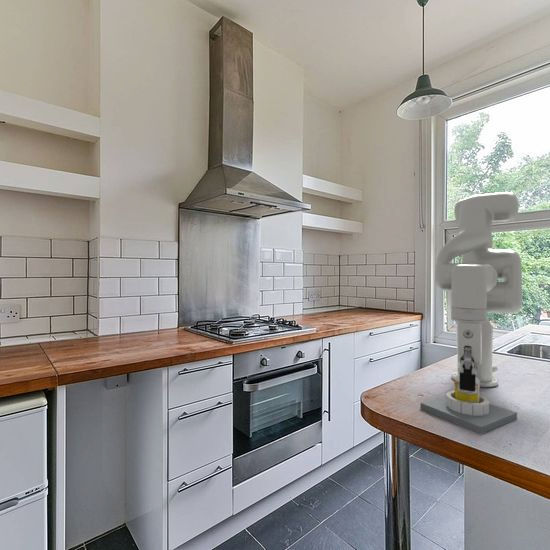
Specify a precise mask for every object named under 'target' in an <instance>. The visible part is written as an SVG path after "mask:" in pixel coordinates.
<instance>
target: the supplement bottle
mask: <svg viewBox="0 0 550 550" xmlns="http://www.w3.org/2000/svg"><path fill="white" fill-rule="evenodd" d="M463 370H464V369H463ZM460 372H461V366H459V367H458V373H459V374H458V375H456V376H455V380H454V391H455V399H457V400H460V401H463V402H468V403H479V395H481V394H480V388H481V387H480V381H479V379H478V378H477V377H476V379H475V391H474V392H473V391H467V390H461V389H460ZM474 374H476V375H477V370H476V369H475V368H474Z"/></svg>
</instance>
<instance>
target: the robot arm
mask: <svg viewBox="0 0 550 550" xmlns="http://www.w3.org/2000/svg"><path fill="white" fill-rule="evenodd" d="M518 199H519V198H518V197H517V195H516V194H515V193H514V192H510V191H505V192H504V191H502V192H493V193H483V194H475V195H471V196H469V197H466V198H463V199H460V200H458V201H457V202H456V203H455V205H454V219H455V223H456V226H457V234H455V235H454V236H453V237H451V238H450V239H449V240H448V241H447V242H446V243H445V244H444V245H443V246H442V247H441V248H440V250H439V252H438V255H437V258H436V265H435V270H434V282H435V285H436V287H437V288H438V289H439V290H441V291H444V292H445V291H446V292H450V297H451V299H450V302H451V303H450V320H451V321H453V322H456V325H455V326H456V328H455V329H456V333H455V334H456V336H455V337H456V353H457V362H456V363H457V368H456V369H457V371H454V372H452V373H451V378H452V379H453V380H454V381H455V376H456V375H458V374H459V373H458V367H459V366H461V372H460V389H461V390H467V391H473V392H474V391H475V379H476V377H477V378H478V379H479V381H480V388H493V387H496V386H498V385H499V380H498V379H497V378H496V377H494V376H493V373H495V372H497V371H498V367H497V366H496V365H493V346H494V345H493V344H494V343H493V341H494V340H493V337H494V335H493V334H494V332H493V331H494V330H493V329H494V327H493V325H492V323H491V321H490V320H489V319H488V318H487V313H494V314H516V313H518V312H519V311H521V308H522V304H523V279H522V278H523V277H522V276H523V274H522V272H523V271H522V268H523V267H522V259H521V257H520V254H519V253H518V252H517V251H516V250H512V249H493V245H494V244H493V240H494V239H493V235H492V230H493V227H492V226H493V223H501V222H513V221H515V220H516V219H517V216H518V214H519V206H520V205H519V200H518ZM460 256H462V257H461V262H460V263H458V262H457V263H456V262H453V263H452V261H453V260H454V259H456V258H458V257H460ZM450 262H451V263H450ZM498 280H499V281H498ZM474 368H475V369H476V370H477V375H476V374H474ZM463 369H464V370H463Z"/></svg>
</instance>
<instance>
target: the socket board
mask: <svg viewBox="0 0 550 550" xmlns="http://www.w3.org/2000/svg"><path fill="white" fill-rule="evenodd" d="M419 409H421V410H422V411H425V412H428V413H430V414H432V415H435V416H437V417H440V418H442V419H444V420H447V421H449V422H452V423H454V424H456V425H458V426H461V427H463V428H466V429H468V430H470V431H473V432H476V433H478V434H480V435H482V434H485V433H487V432H490V431H492V430H494V429H496V428H499V427H502V426H504V425H505V424H508V423H510V422H513V421H515V420H517V419H518V412H516V411H513V410H510V409H507V408H504V407H501V406H498V405H495V404H492V403H490V400H489V398H488V397H486V396H484V395H482V394H480V395H479V403H468V402H463V401H460V400H457V399H455V390H449V391H447V392H446V394H445V395H440V396H439V397H438V396H437V397H435V398H432V399H428V400H425V401H421V402H420V408H419Z"/></svg>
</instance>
